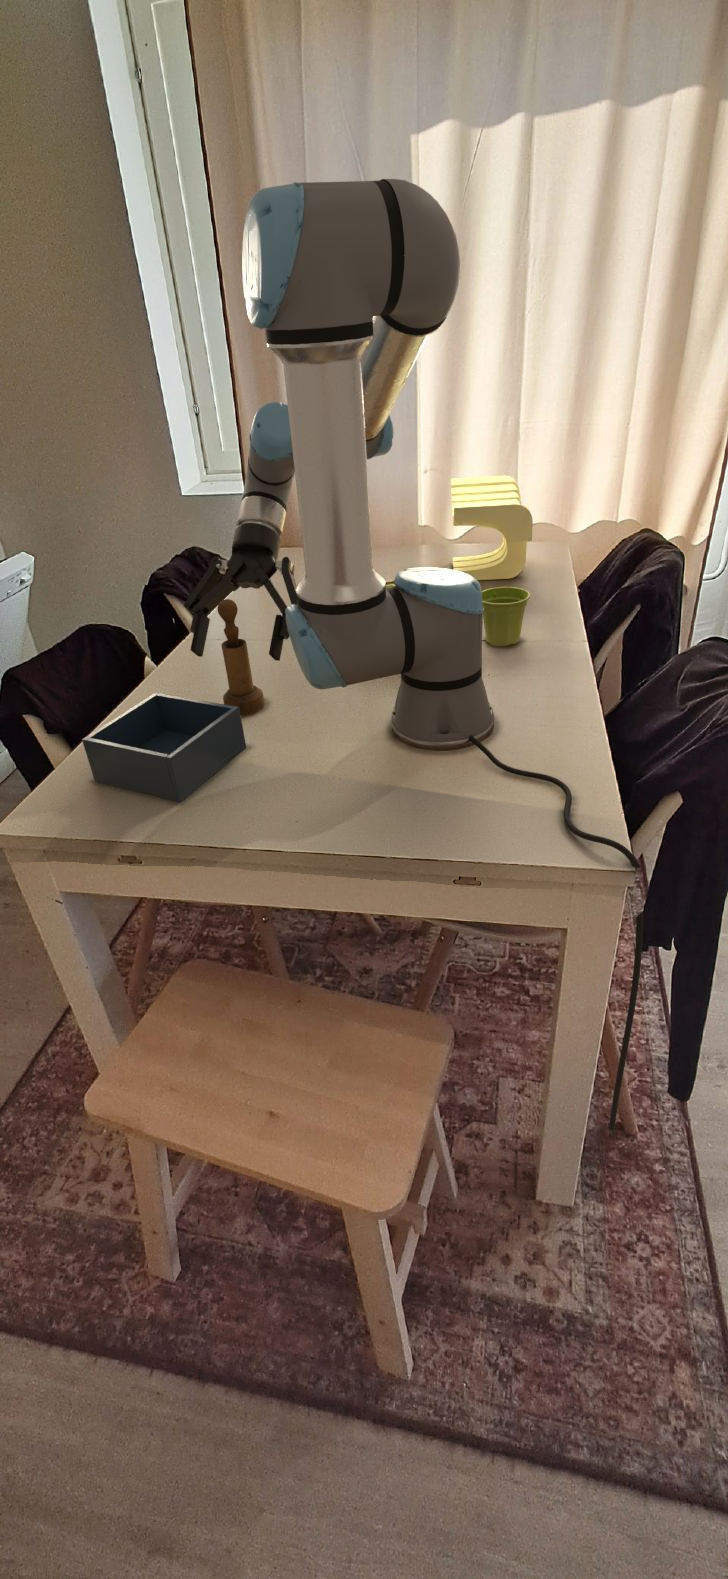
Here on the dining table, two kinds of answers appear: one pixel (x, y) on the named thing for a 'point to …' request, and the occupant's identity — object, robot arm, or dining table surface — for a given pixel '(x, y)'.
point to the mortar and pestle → (238, 665)
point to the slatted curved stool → (492, 524)
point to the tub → (165, 745)
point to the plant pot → (503, 614)
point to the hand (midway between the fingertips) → (234, 655)
